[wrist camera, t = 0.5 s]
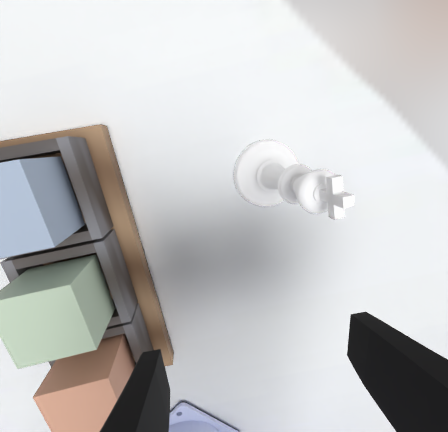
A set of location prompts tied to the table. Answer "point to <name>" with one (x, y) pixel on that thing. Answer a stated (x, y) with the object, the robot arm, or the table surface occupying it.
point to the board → (99, 233)
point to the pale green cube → (55, 311)
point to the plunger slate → (36, 205)
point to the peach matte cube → (85, 387)
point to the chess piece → (288, 180)
